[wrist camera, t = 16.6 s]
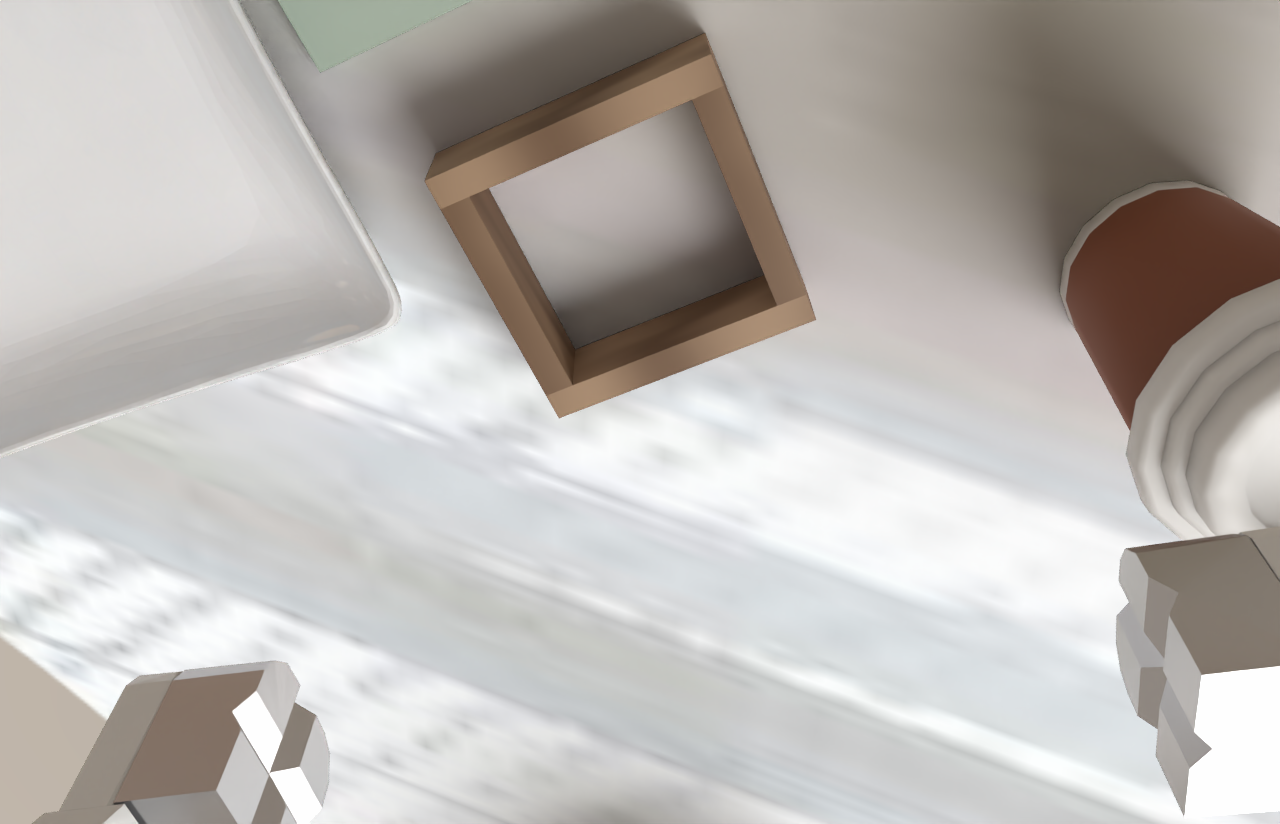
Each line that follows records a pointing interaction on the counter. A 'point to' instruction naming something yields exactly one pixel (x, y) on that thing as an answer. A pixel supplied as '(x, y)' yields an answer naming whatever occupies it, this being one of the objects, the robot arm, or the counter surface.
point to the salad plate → (160, 215)
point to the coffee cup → (1187, 349)
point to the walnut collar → (573, 125)
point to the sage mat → (357, 24)
